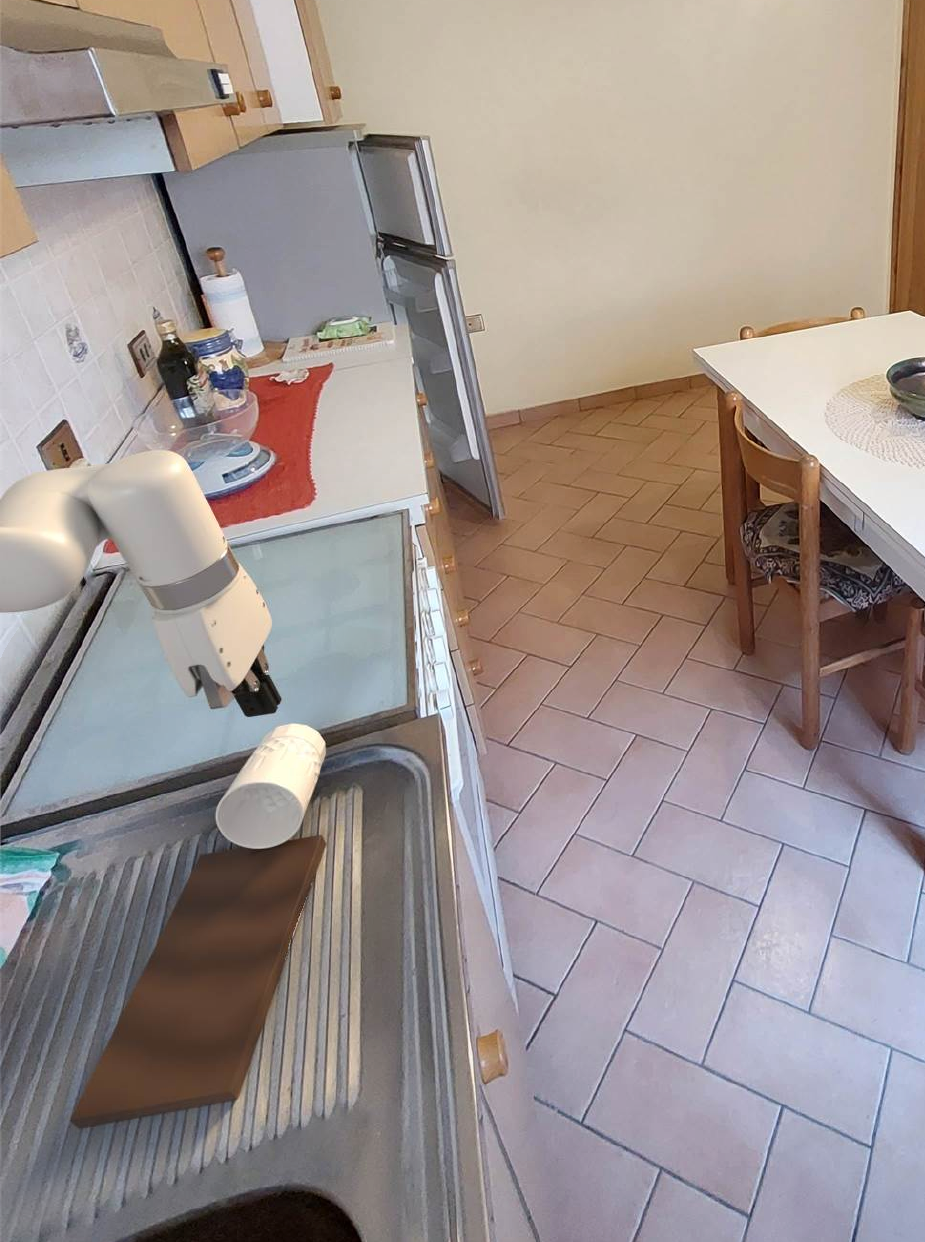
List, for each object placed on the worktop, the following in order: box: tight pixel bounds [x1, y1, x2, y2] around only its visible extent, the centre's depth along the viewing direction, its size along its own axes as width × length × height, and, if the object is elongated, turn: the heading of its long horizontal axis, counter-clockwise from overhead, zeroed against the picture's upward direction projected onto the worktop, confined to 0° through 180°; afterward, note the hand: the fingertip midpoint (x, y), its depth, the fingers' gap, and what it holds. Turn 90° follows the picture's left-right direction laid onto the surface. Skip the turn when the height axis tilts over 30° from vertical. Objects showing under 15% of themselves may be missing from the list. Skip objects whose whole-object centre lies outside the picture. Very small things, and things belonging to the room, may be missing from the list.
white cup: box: [215, 722, 327, 849], centre depth 80 cm, size 8×8×10 cm
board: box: [69, 834, 327, 1129], centre depth 68 cm, size 21×12×2 cm, turn 6°
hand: (264, 708), depth 81 cm, fingers closed
